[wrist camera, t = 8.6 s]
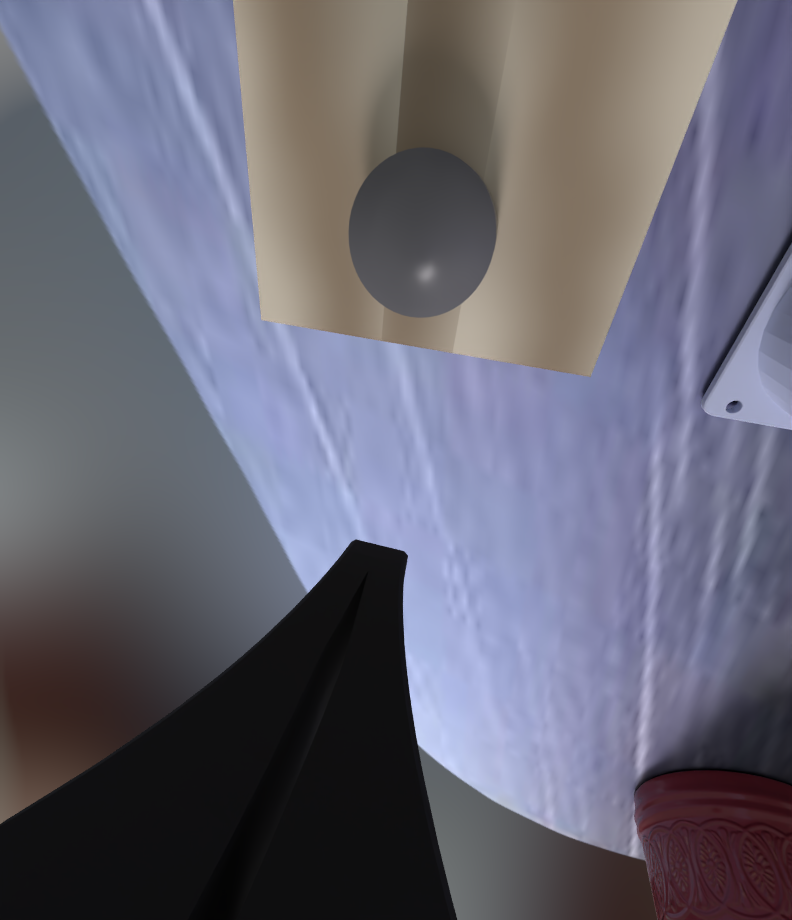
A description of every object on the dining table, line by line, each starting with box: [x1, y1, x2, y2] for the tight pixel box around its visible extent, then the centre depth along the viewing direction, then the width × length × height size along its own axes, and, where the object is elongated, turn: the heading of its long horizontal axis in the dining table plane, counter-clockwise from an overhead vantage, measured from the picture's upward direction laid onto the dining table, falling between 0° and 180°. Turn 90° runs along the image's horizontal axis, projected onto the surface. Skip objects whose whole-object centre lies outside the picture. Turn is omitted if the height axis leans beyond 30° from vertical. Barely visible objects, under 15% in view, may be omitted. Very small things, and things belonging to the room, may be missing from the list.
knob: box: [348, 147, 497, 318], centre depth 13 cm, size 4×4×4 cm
